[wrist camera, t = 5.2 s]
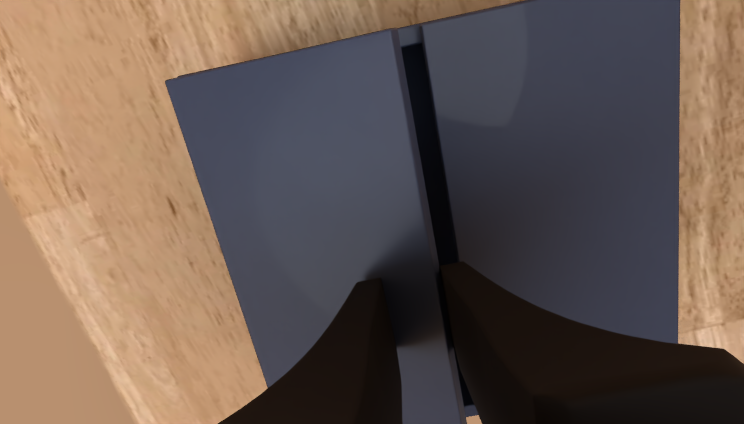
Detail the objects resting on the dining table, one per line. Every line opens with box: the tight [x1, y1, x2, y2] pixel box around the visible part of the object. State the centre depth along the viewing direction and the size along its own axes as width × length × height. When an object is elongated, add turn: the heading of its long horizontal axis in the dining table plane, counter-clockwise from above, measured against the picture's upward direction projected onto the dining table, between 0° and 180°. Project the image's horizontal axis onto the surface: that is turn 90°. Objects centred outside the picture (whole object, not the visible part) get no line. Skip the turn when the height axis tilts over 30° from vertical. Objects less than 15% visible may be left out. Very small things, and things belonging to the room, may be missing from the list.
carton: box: [177, 0, 680, 417], centre depth 17 cm, size 13×13×7 cm
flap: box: [165, 28, 467, 424], centre depth 13 cm, size 13×6×1 cm, turn 12°
